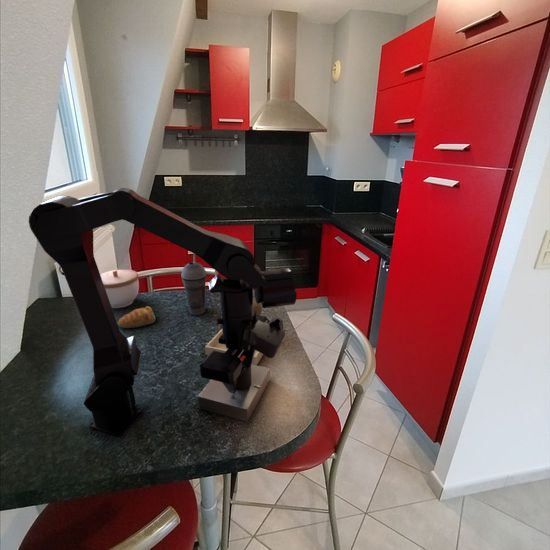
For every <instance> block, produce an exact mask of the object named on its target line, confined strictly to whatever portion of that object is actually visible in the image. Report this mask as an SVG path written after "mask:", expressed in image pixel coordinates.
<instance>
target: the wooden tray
mask: <svg viewBox="0 0 550 550" xmlns="http://www.w3.org/2000/svg"><path fill="white" fill-rule="evenodd" d="M222 334H223V331H222V328H221V329H220V330H219V331H218V332H217V333H216V334H215V336H213V337H212V339H210V341H209V342H208V343H207V344H206V345H205V346H204V347H205V349H204V350H205V355H206V356H208V355H209V354H210V353H212V352H213V351H217V352H222V353H225V352H226V351H227V349H228V348H226V346H225V345H224V344H219V338H220V336H221V335H222ZM263 356H264V354H262V353H260V352H258V351H256V350H255V354H254V357H253V361H252V365H256V366H258V364H259V363H260V360H261V359H262V357H263ZM239 357H240V356H239Z"/></svg>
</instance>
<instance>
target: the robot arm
mask: <svg viewBox="0 0 550 550" xmlns="http://www.w3.org/2000/svg"><path fill="white" fill-rule="evenodd" d="M122 220H123V221H125V222H128V223H130V224H132V225H134V226H135V227H138V228H141V229H142V230H145V231H147V232H149V233H151V234H152V235H155V236H157V237H159V238H161V239H163V240H165V241H167V242H169V243H172V244H173V245H176V246H178V247H180V248H182V249H184V250H186V251H187V252H190V253H192V254H193V253H194V254H195V256H198V257H199V258H200V259H202V260H203V261H204V262H205V263H206V264H207V265H208V266H210V268H212V269H213V270H215V271H216V272H217V273H216V274H215V276H214V277H213V278H211V280H209V281H208V282H207V285H208V290H209V293H210V294H216V293H217V294H218V293H219V297H220V315H219V316H218V317H217V318H216V324H218V325H221V329H222V331H223V334H222V335H221V336H220V338H219V344H224V345H225V346H226V348H228V349H227V351H226V352H225V353H222V352H217V351H213V352H212V353H210V354H209V355H206V357H205V359H204V360H203V361H202V362H201V363H200V364H199V373H200V377H201V378H203V379H207V380H215V381H219V382H222V383H223V384H224V386H225V387H226V388H227V390H228V391H229V392H230V393H233V394H235V392H236V386H237V378H238V377H239V376H240V374H241V373H242V371H243V370H244V368H245V367H242V361H241V360H240V359H239V356H240V357H242V356H245V357H246V358H248V359H249V360H250V361H251V365H252V361H253V357H254V354H255V350H256V351H258V352H260V353H262V354H263V356H264V357H266V358H267V359H274V358H275V356H276V355H277V353H278V351H279V349H280V347H281V345H282V343H283V340H284V339H285V336H286V329H284V320H283V319H282V318H280V317H278V316H275V317H273V318H272V319H271V320H269V318H268V317H267V316H266V315H265V316H264V315H261V314H260V315H259V314H257V311H253V300H254V299H255V301H256V302H257V303H260V304H261V306H262V309H269V308H277V307H286V306H293V305H295V304H296V302H297V293H298V292H297V290H296V285H295V281H294V278H293V271H292V270H291V269H290V268H289V267H284V268H279V269H274V270H263V271H262V270H261V268H260V267H259V266H258V264H256V260H255V257H254V254H253V253H252V252H251V249H250V248H249V247H248V246H247V244H246V243H245V242H244V241H243V240H242V239H238V238H237V237H234V236H230V235H227V234H225V233H219V232H215V231H211V230H207V229H204V228H203V227H201V226H199V225H197V224H195V223H193V222H191V221H189V220H187V219H186V218H184V217H182V216H179V215H177V214H176V213H174V212H172V211H170V210H168V209H167V208H164V207H162V206H160V205H158V204H156V203H154V202H153V201H151V200H149V199H147V198H146V197H143V196H141V195H139V194H138V193H137V192H136V191H134V190H133V189H131V188H128V187H120V188H117V189H115V190H114V191H109V192H105V193H104V192H103V193H99V194H95V195H90V196H86V197H81V198H79V199H78V198H77V197H73V196H70V195H60V196H57V197H54V198H52V199H49V200H47V201H45V202H42V203H40V204H39V205H37V206H35V207H34V208H33V210H32V211H31V213H30V215H29V216H28V224H29V228H30V231H31V232H32V234H33V235H34V238H35V239H36V240H37V242H38V243H39V245H40V247H41V248H42V250H43V251H44V252H45V254H47V255H48V256H49V257H50V258H51V259H52V260H53V261H55V262H56V264H58V266H59V267H60V269H61V270H62V273H63V275H64V278H65V280H66V283H67V286H68V288H69V291H70V293H71V296H72V299H73V301H74V304H75V306H76V309H77V311H78V313H79V316H80V318H81V321H82V324H83V326H84V328H85V331H86V334H87V336H88V338H89V341H90V343H91V346H92V355H93V356H92V367H93V368H92V370H93V377H92V379H91V382H90V384H89V388H88V390H87V393H86V395H85V398H84V401H83V405H84V407H86V409H87V410H88V411H89V412H91V415H92V418H93V419H92V420H91V422H90V423H88V427H89V428H90V429H92V430H94V431H95V430H96V431H99V432H102V433H104V434H108V435H110V436H113V437H119V436H120V435H121V434H122V433H123V432H124V431H125V430H126V429H127V428H128V427H129V426H130V424H132V423H133V421H134V420H135V419H136V418H137V417H138V416H139V415H140V414H141V413H142V412H143V407H141V406H137V405H136V404H137V402H136V398H135V397H136V396H135V392H134V387H133V386H134V383H135V379H136V376H138V372H139V367H140V359H141V355H142V351H141V350H140V349H139V348H138V345H137V339H136V335H132V336H130V337H126V335H124V334H123V333H122V332H121V330H120V326H119V324H118V322H117V319H116V316H115V313H114V309H113V308H112V307H111V304H110V301H109V298H108V296H107V293H106V290H105V287H104V284H103V281H102V278H101V275H100V274H101V273H100V270H99V267H98V264H97V261H96V258H95V254H94V230H95V229H97V228H100V227H103V226H107V225H109V224H112V223H115V222H119V221H122ZM222 276H223V277H222Z"/></svg>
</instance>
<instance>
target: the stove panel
mask: <svg viewBox="0 0 550 550" xmlns="http://www.w3.org/2000/svg"><path fill="white" fill-rule="evenodd" d="M251 372H252V383H251V385H250V386H249V387H248V388H247V389H244V390H236V392H235V394H233V393H230V392H229V391H228V390H227V388H226V387H225V386H224V384H223V383H222V382H219V381H215V380H211V379H209V382H208V383H207V384H206V385H205V387H204V388H203V390H201V392H200V393H199V394H198V397H197V398H198V408H199V409H200V410H203V411H207V412H211V413H214V414H218V415H221V416H225V417H228V418H232V419H236V420H238V421H239V420H240V421H243V422H249V421H250V418H252V417H251V416H252V415H253V413H254V411H255V409H256V407H257V406H258V403H259V401H260V399H261V397H262V395H263V394H264V392H265V390H266V388H267V386H268V385H269V382H270V380H271V379H270V377H271V370H270V368H268V367H265V366H261V365H251Z"/></svg>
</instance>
